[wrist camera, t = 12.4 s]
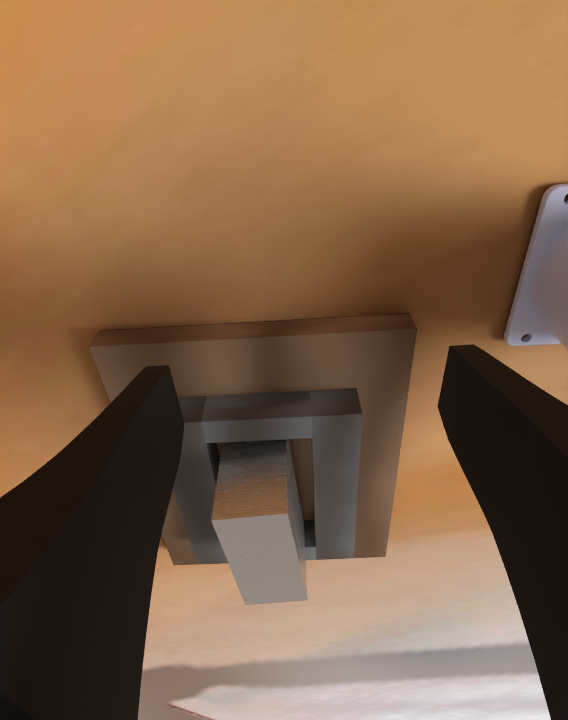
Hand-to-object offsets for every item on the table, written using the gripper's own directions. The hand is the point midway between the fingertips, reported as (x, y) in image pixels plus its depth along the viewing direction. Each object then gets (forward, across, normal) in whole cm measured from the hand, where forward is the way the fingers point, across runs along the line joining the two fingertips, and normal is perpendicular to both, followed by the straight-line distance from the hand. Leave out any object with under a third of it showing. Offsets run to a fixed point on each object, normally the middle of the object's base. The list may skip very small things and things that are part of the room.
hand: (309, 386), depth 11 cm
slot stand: (+10, +2, +14) cm, 18 cm away
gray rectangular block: (+9, +2, +14) cm, 17 cm away
